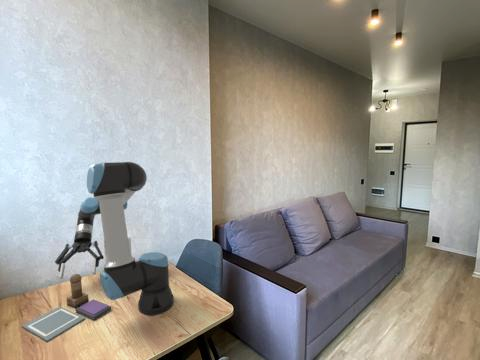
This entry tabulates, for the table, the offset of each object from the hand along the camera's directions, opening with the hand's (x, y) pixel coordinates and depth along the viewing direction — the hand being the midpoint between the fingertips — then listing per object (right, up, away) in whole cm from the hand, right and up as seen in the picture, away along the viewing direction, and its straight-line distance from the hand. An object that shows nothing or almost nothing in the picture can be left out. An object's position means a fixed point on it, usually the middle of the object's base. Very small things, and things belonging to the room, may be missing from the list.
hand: (77, 275), depth 121 cm
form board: (+1, -13, -17) cm, 21 cm away
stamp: (+2, -11, -3) cm, 12 cm away
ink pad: (+13, -12, -9) cm, 20 cm away
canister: (+7, -8, +26) cm, 28 cm away
